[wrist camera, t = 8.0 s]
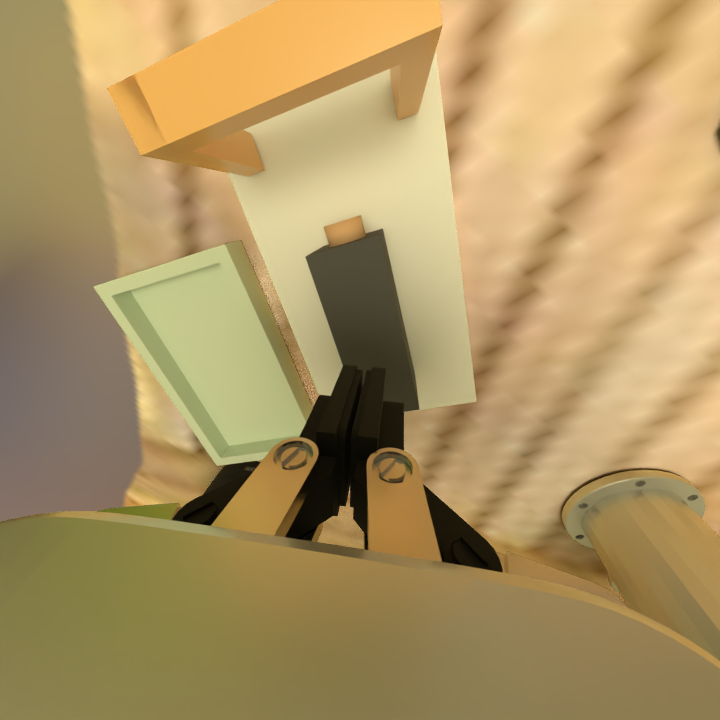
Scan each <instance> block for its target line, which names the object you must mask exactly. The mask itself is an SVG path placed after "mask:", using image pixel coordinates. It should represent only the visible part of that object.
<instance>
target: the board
mask: <svg viewBox="0 0 720 720" xmlns="http://www.w3.org/2000/svg"><path fill="white" fill-rule="evenodd" d="M244 130H245V131H247V132H249V133H251V134H252V137H253V140H254V143H255V146H256V148H257V151H258V154H259V157H260V159H261V162H262V165H263V168H264V171H262V172H259V173H257V174H254V175H251V176H249V177H248V176H243V175H238V174H232V173H228V174H229V177H230V179H231V182H232V184H233V187H234V189H235V192H236V194H237V196H238V199H239V201H240V204H241V206H242V209H243V211H244V214H245V216H246V218H247V221H248V223H249V226H250V228H251V231H252V233H253V236H254V238H255V240H256V243H257V245H258V248H259V250H260V253H261V255H262V258H263V260H264V262H265V265H266V267H267V270H268V272H269V275H270V277H271V280H272V282H273V284H274V287H275V289H276V292H277V294H278V297H279V299H280V301H281V304H282V306H283V309H284V311H285V314H286V316H287V319H288V321H289V323H290V326H291V328H292V331H293V333H294V336H295V338H296V341H297V343H298V345H299V348H300V350H301V353H302V355H303V358H304V360H305V363H306V365H307V367H308V370H309V372H310V375H311V377H312V380H313V382H314V385H315V387H316V389H317V392H318V394H319V395H328V396H331V394H332V391H333V389H334V386H335V384H336V382H337V379H338V377H339V374H340V372H341V369H342V367H343V365H342V362H341V359H340V356H339V353H338V350H337V347H336V345H335V342H334V339H333V336H332V333H331V330H330V327H329V324H328V321H327V319H326V316H325V313H324V310H323V307H322V304H321V301H320V298H319V295H318V292H317V290H316V287H315V284H314V281H313V278H312V275H311V272H310V269H309V266H308V264H307V261H306V258H305V257H306V256H307V255H309V254H311V253H312V252H314V251H316V250H318V249H319V248H321V247H323V246H325V245H328V244H329V243H328V240H327V237H326V234H325V230H324V226H327V225H331V224H334V223H337V222H340V221H343V220H347V219H350V218H353V217H356V216H359V215H361V218H362V222H363V226H364V230H365V234H366V233H369V232H372V231H376V230H379V229H382V228H383V231H384V236H385V240H386V245H387V250H388V254H389V259H390V263H391V268H392V272H393V277H394V281H395V286H396V290H397V295H398V299H399V304H400V308H401V313H402V317H403V322H404V326H405V331H406V336H407V340H408V345H409V349H410V354H411V358H412V363H413V367H414V372H415V378H416V386H417V393H418V401H419V409H420V410H425V409H432V408H438V407H445V406H451V405H458V404H464V403H471V402H477V401H476V392H475V383H474V375H473V366H472V357H471V349H470V340H469V331H468V323H467V314H466V306H465V297H464V288H463V280H462V271H461V262H460V254H459V245H458V236H457V228H456V219H455V211H454V202H453V193H452V185H451V176H450V167H449V159H448V150H447V141H446V133H445V124H444V116H443V107H442V98H441V90H440V81H439V72H438V64H437V55H436V51H435V54H434V58H433V62H432V65H431V69H430V72H429V76H428V80H427V83H426V87H425V91H424V94H423V98H422V102H421V105H420V109H419V112H418V113H417V114H414V115H412V116H409V117H406V118H404V119H401V120H398V119H397V113H396V107H395V101H394V96H393V90H392V84H391V78H390V69H388V70H385V71H383V72H381V73H378V74H376V75H373V76H371V77H369V78H366V79H364V80H361V81H359V82H357V83H354V84H352V85H349V86H347V87H345V88H342V89H340V90H337V91H335V92H333V93H330V94H328V95H325V96H323V97H320V98H318V99H316V100H313V101H311V102H308V103H306V104H304V105H301V106H299V107H296V108H294V109H292V110H289V111H287V112H284V113H282V114H280V115H277V116H275V117H272V118H270V119H268V120H265V121H263V122H260V123H258V124H256V125H253V126H251V127H248V128H246V129H244ZM414 411H419V410H414ZM407 412H412V411H407ZM404 413H406V412H404Z"/></svg>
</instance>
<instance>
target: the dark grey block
mask: <svg viewBox="0 0 720 720" xmlns="http://www.w3.org/2000/svg"><path fill="white" fill-rule="evenodd" d="M324 230H325V234H326V237H327V240H328V243H329V244H328V245H325V246H323V247H321V248H319V249H318V250H316V251H314V252H312V253H311V254H309V255H307V256H306V257H305V258H306V261H307V264H308V266H309V269H310V272H311V275H312V278H313V281H314V284H315V287H316V290H317V292H318V295H319V298H320V301H321V304H322V307H323V310H324V313H325V316H326V319H327V321H328V324H329V327H330V330H331V333H332V336H333V339H334V342H335V345H336V347H337V350H338V353H339V356H340V359H341V362H342V365H355V366H358V369H360V370H363V383H364V379H365V375H366V371H367V370H372V367H380V368H386V381H385V395H384V401H391V402H402V403H404V412H407V411H414V410H420V409H419V401H418V393H417V386H416V378H415V372H414V367H413V363H412V358H411V354H410V349H409V345H408V340H407V336H406V331H405V326H404V322H403V317H402V313H401V308H400V304H399V299H398V295H397V290H396V286H395V281H394V277H393V272H392V268H391V263H390V259H389V254H388V250H387V245H386V240H385V236H384V231H383V228H382V229H379V230H376V231H372V232H369V233H366V234H365V230H364V226H363V222H362V218H361V215H359V216H356V217H353V218H350V219H347V220H343V221H340V222H337V223H334V224H331V225H327V226H324ZM362 387H363V384H362Z"/></svg>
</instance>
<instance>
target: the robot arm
mask: <svg viewBox="0 0 720 720" xmlns="http://www.w3.org/2000/svg"><path fill="white" fill-rule="evenodd" d="M385 381H386V368H380V367H372V370H367V371H366V375H365V379H364V383H363V370H360V369H358V366H355V365H343V367H342V369H341V372H340V374H339V377H338V379H337V382H336V384H335V386H334V389H333V391H332V394H331V396H328V395H319V397H318V399H317V401H316V403H315V405H314V407H313V409H312V411H311V413H310V415H309V418H308V420H307V422H306V424H305V426H304V428H303V430H302V432H301V434H300V436H299V437H294V438H289V439H285V440H283V441H281V442H279V443H277V444H276V445H275V446H274V447H273V448H272V449H271V450H270V451H269V453H268V454H267V455H266V456H265V458H264V459H263V460H262V461H261V463H260V464H259V465H258V467H257V468H256V469H255V470H254V471H253V472H251V473H249V474H246V475H244V476H242V477H240V478H238V479H236V480H234V481H232V482H229V483H227V484H225V485H223V486H221V487H219V488H217V489H215V490H212V491H210V492H208V493H206V494H204V495H202V496H200V497H198V498H195V499H194V500H192V501H190V502H189V503H187V504H186V505H185V506H183V507H181V506H180V504H179V503H170V504H157V505H144V506H131V507H118V508H108V509H104V510H99V511H97V512H95V511H62V512H52V513H43V514H34V515H29V516H24V517H19V518H14V519H8V520H5V521H1V522H0V720H720V537H719V536H718V535H717V534H716V533H715V532H714V531H713V530H712V529H711V528H710V527H709V526H708V525H707V524H706V523H705V522H704V521H703V520H702V519H701V518H702V516H703V515H704V511H705V500H704V497H703V496H702V494H701V492H700V491H699V490H698V489H697V488H695V487H694V486H693V485H692V484H691V483H690V482H689V481H687V480H686V479H684V478H683V477H681V476H678V475H675V474H673V473H669V472H663V471H658V470H633V471H626V472H620V473H615V474H612V475H608V476H605V477H602V478H600V479H597V480H595V481H593V482H591V483H589V484H587V485H585V486H584V487H582V488H581V489H579V490H578V491H577V492H575V493H574V494H573V495H572V496H571V497H570V498H569V500H568V501H567V502H566V504H565V506H564V508H563V511H562V522H563V524H564V526H565V528H566V530H567V532H568V534H569V535H570V536H571V538H573V539H574V540H575V541H576V542H578V543H579V544H581V545H583V546H585V547H588V548H591V549H594V550H595V551H596V553H597V554H598V556H599V558H600V559H601V561H602V563H603V564H604V566H605V568H606V570H607V571H608V573H609V576H608V582H609V583H610V585H611V587H613V588H614V589H615V590H616V591H618V592H620V593H621V595H622V597H623V599H624V600H625V602H626V604H627V605H628V607H629V608H628V607H626V605H625V604H624V603H623V602H622V601H621V600H620V599H619V598H618V597H616V596H615V595H614V594H613V593H611V592H610V591H609V590H608V589H606V588H604V587H602V586H600V585H598V584H596V583H594V582H591V581H588V580H585V579H583V578H580V577H577V576H574V575H572V574H569V573H566V572H563V571H561V570H558V569H555V568H552V567H550V566H547V565H544V564H541V563H539V562H536V561H533V560H531V559H528V558H525V557H522V556H520V555H517V554H514V553H511V552H509V551H507V553H506V555H504V554H501V553H498V552H496V551H495V550H494V548H493V547H492V546H491V545H490V544H489V543H488V542H487V541H486V540H485V539H484V538H483V537H482V536H481V535H480V534H479V533H477V532H476V531H475V530H474V529H473V528H472V527H471V526H470V525H468V524H467V523H466V522H465V521H464V520H463V519H462V518H461V517H459V516H458V515H457V514H456V513H455V512H454V511H453V510H452V509H450V508H449V507H448V506H447V505H446V504H445V503H444V502H443V501H441V500H440V499H439V498H438V497H437V496H436V495H435V494H434V493H432V492H431V491H430V490H429V489H428V488H427V487H426V486H425V485H423V483H422V479H421V475H420V471H419V467H418V464H417V462H416V460H415V459H414V458H413V457H412V456H411V455H410V454H408V453H407V452H405V451H404V403H402V402H391V401H384V395H385ZM362 384H363V387H362ZM349 487H350V507H354V513H353V519H354V520H355V521H356V523H357V524H358V525H359V527H360V528H361V529H362V531H363V532H364V549H357V548H351V547H345V546H338V545H332V544H325V543H319V542H317V541H318V539H319V536H320V534H321V531H322V527H323V522H324V521H326V520H327V519H329V518H330V517H332V516H338V512H339V507H340V506H346V502H347V497H348V492H349Z"/></svg>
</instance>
